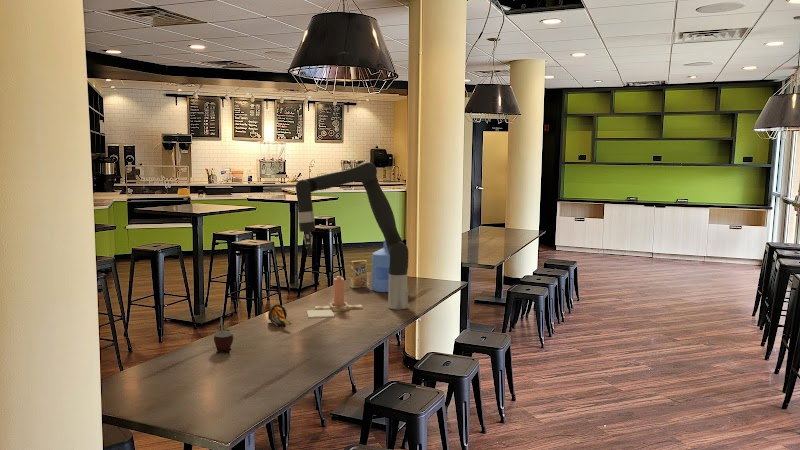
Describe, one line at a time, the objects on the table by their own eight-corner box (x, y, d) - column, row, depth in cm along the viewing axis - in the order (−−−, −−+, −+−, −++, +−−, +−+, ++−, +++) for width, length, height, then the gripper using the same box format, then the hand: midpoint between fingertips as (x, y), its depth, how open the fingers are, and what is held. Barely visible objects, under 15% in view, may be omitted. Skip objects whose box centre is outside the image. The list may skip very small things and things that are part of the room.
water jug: (367, 288, 358) (368, 239, 355) (392, 286, 365) (393, 238, 362) (378, 293, 344) (378, 243, 341) (404, 291, 351) (404, 241, 348)
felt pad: (331, 310, 305) (331, 309, 305) (334, 316, 294) (334, 315, 294) (306, 311, 303) (306, 310, 303) (308, 318, 291) (308, 316, 291)
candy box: (353, 288, 357) (353, 261, 356) (350, 286, 361) (350, 260, 359) (367, 287, 362) (367, 260, 360) (364, 285, 365) (364, 259, 364)
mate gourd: (226, 347, 246) (225, 309, 244) (238, 351, 241) (237, 313, 239) (209, 351, 240) (208, 313, 238) (221, 356, 235) (221, 317, 233)
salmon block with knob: (342, 307, 313) (342, 275, 311) (343, 309, 308) (344, 277, 307) (333, 307, 312) (333, 275, 310) (334, 309, 308) (334, 277, 306)
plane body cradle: (360, 305, 317) (360, 301, 317) (363, 309, 308) (363, 305, 308) (314, 307, 312) (314, 303, 312) (316, 311, 303) (316, 307, 303)
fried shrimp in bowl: (280, 308, 289) (304, 302, 277) (277, 332, 285) (301, 327, 273) (263, 304, 283) (287, 297, 271) (260, 328, 279) (283, 322, 267)
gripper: (314, 221, 294) (317, 255, 295) (314, 219, 308) (318, 252, 310) (298, 222, 293) (301, 257, 295) (299, 221, 307) (302, 253, 309)
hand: (310, 254), depth 302 cm, fingers open, 8 cm apart
